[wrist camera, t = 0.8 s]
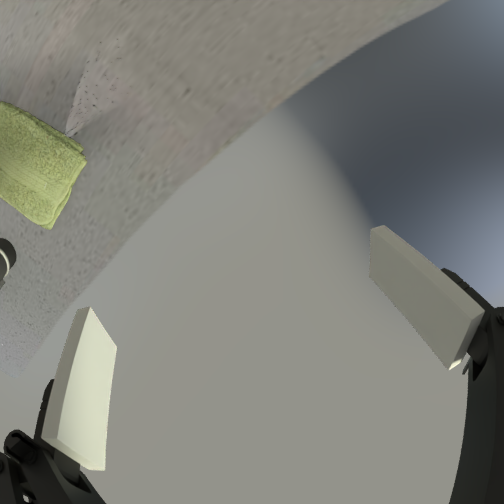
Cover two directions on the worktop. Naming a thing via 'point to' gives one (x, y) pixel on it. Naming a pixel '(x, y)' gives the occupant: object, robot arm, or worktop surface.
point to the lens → (6, 257)
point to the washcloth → (36, 165)
